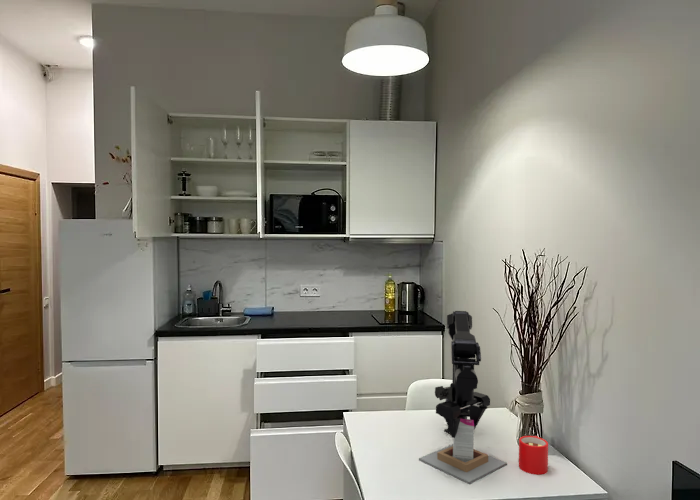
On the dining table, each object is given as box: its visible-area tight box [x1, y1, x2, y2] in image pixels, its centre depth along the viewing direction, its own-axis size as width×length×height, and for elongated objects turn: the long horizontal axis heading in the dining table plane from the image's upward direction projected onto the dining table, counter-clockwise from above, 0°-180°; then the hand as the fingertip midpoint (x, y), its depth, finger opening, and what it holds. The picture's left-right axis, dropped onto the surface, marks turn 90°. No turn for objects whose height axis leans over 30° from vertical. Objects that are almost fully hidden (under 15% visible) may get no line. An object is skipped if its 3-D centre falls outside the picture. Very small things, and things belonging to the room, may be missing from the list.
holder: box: [418, 444, 508, 485], centre depth 143 cm, size 18×18×3 cm
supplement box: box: [452, 418, 475, 462], centre depth 143 cm, size 6×6×12 cm
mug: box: [518, 435, 549, 476], centre depth 142 cm, size 8×12×8 cm, turn 154°
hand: (463, 433), depth 143 cm, fingers open, 9 cm apart
